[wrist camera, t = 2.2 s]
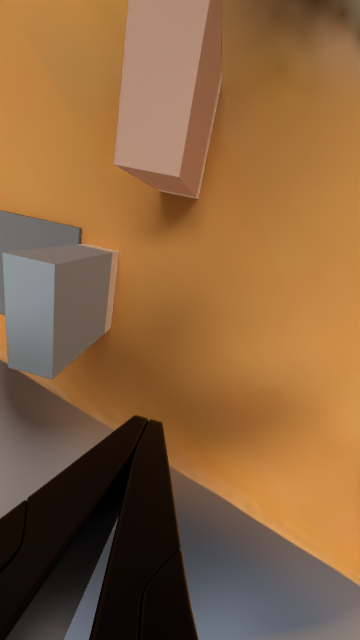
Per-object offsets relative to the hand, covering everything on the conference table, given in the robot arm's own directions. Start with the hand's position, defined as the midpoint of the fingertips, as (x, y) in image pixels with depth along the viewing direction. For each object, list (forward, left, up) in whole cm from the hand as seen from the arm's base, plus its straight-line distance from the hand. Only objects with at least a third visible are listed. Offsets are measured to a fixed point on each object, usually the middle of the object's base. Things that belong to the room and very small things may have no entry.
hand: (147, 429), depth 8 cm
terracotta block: (-1, -10, -12) cm, 16 cm away
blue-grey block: (+7, -2, -12) cm, 14 cm away
